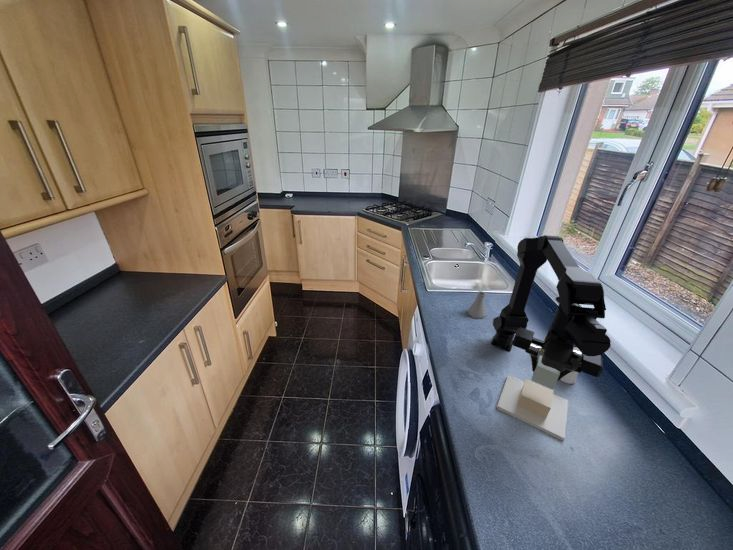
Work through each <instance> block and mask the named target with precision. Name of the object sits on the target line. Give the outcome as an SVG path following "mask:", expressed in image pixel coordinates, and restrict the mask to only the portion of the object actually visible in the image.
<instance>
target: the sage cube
mask: <svg viewBox="0 0 733 550" xmlns="http://www.w3.org/2000/svg"><path fill="white" fill-rule="evenodd" d="M542 357H543V355H541V354H540V355H538V360H537V365H536V368H535V371H534V372H533V371H532V377H531V381H532V382H534V383H537V384H539V385H541V386H544V387H546V388H549V389H551V390H554V388H555V386H556V384H557V382H558V381H559V380H558V377H559V375H560V371H558V370H556V369H554V368H551V367H549V366H545V365H543V364H542V362H541V360H542ZM557 380H558V381H557Z"/></svg>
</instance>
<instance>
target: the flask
mask: <svg viewBox="0 0 733 550" xmlns="http://www.w3.org/2000/svg"><path fill="white" fill-rule="evenodd" d="M476 294H477V295H476V298H475V300H474V301H473V303H472V304H471V305H470V306H469V308H468V309H467V310H466V313H468V315H469V316H470V317H472V318H474V319H484V318H486V317H487V312H486V306H485V298H486V295H487V293H486V292H484V291H482V290H481V291H480V290H478V291H477V292H476Z"/></svg>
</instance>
